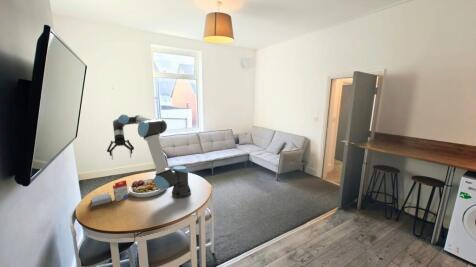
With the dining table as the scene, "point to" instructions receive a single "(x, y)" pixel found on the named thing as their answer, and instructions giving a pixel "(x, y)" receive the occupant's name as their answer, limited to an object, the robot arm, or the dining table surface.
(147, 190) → the bowl
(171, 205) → the dining table surface
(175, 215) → the dining table surface
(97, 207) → the tower base
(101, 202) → the tower top
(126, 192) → the ink box
